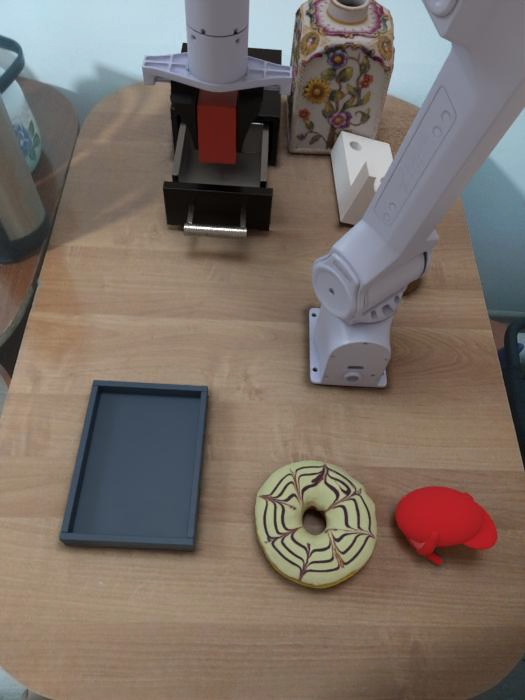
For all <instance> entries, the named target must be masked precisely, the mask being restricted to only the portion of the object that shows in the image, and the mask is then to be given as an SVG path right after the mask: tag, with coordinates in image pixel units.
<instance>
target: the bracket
mask: <svg viewBox="0 0 525 700" xmlns="http://www.w3.org/2000/svg"><path fill="white" fill-rule="evenodd" d="M330 159H331V165H332V173H333V179H334V185H335V186H334V187H335V193H336V198H337V206H338V213H339V221H340V223H345V224H348V225H353V226H355V225H356V224H357V223H358V222H359V221H360V220H361V219H362V218H363V216H364V214H365V212H366V210H367V208H368V207H369V205H370V203H371V201H372V199H373V197H374V195H375V193H376V191H377V189H378V188H379V186H380V184H381V182H382V180H383V178H384V176H385V174H386V172H387V171H388V169H389V167H390V165H391V163H392V161H393V159H394V157H393V154H392V150H391V144H390V143H388V142H384V141H381V140H376V139H375V140H373V139H370V138H366V137H362V136H359V135H355V134H352V133H348V132H344V131H341V133H340V135H339V137H338V139H337V141H336V142H335V144H334V146H333V148H332V150H331V155H330Z"/></svg>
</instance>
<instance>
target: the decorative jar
mask: <svg viewBox="0 0 525 700" xmlns="http://www.w3.org/2000/svg"><path fill="white" fill-rule="evenodd" d="M294 17H295V18H294V25H293V34H292V44H291V51H290V53H291V54H290V61H289V66H292V83H291V92H290V95H286V127H287V148H288V151H289V153H291V154H306V155H307V154H308V155H309V154H311V155H312V154H314V155H330V156H331V150H332V148H333V146H334V144H335V142H336V141H337V139H338V137H339V135H340V133H341V131H344V132H348V133H352V134H355V135H359V136H362V137H366V138H370V139H373V140H376V138H377V134H378V131H379V126H380V124H381V120H382V115H383V111H384V107H385V103H386V99H387V96H388V91H389V88H390V83H391V79H392V75H393V72H394V68H395V53H396V47H395V46H394V40H395V23H394V19H393V16H392V14H391V11H390V10H389V9H388V8H386V7H385V6H384V5H382V4H380V3H379V2H378V1H377V0H306V1H305V2H303V3H301V4H300V5H299V7H298V8H297V9H296V12H295V14H294Z"/></svg>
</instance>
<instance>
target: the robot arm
mask: <svg viewBox="0 0 525 700" xmlns="http://www.w3.org/2000/svg"><path fill="white" fill-rule="evenodd" d="M421 2H422V3H423V6H424V8H425V10H426V11H427V14H428V16H429V18H430V20H431V21H432V23H433V25H434V27H435V30H436V31H437V34H438V35H439V37H440V38H442V39H444V40H446V41H448V42H449V43H451V47H450V51H449V53H448V55H447V56H446V59H445V61H444V63H443V65H442V66H441V68H440V70H439V72H438V74H437V76H436V78H435V80H434V82H433V83H432V86H431V87H430V88H429V91H428V93H427V94H426V96H425V99H424V101H423V102H422V104H421V106H420V108H419V110H418V111H417V114H416V115H415V118H414V119H413V121H412V123H411V125H410V127H409V129H408V131H407V133H406V135H405V136H404V139H403V140H402V143H401V144H400V146H399V148H398V150H397V152H396V153H395V155H394V157H393V161H392V163H391V165H390V167H389V169H388V171H387V172H386V174H385V176H384V178H383V180H382V182H381V184H380V186H379V188H378V189H377V191H376V193H375V195H374V197H373V199H372V201H371V203H370V205H369V207H368V208H367V210H366V212H365V214H364V216H363V218H362V219H361V220H360V221H359V222H358V223H357V224H356V225H353V227H351V228H350V229H349V230H348V231H347V232H346V233H345V234H343V235H342V236H341V237H340V238H338V240H337V241H336V242H335V243H334V244H333V245H332V246H331V248H330V250H329V252H328V253H327V254H324V255H321V256H319V257H318V258H316V259H315V260H314V261H313V264H312V266H311V284H312V289H313V291H314V294H315V296H316V299H317V300H318V301H319V303H320V307H311V308H310V309H309V312H308V330H309V331H308V332H309V333H308V334H309V336H308V338H309V340H308V341H309V381H310V382H311V383H312V384H314V385H328V386H330V385H331V386H346V387H348V386H349V387H364V388H365V387H366V388H382V389H383V388H385V387H386V386H387V383H388V381H387V380H388V379H387V369H386V368H387V366H388V364H389V362H390V360H391V356H392V348H391V347H392V346H391V327H392V323H393V320H394V317H395V315H396V312H397V311H398V308H399V305H400V303H401V301H402V298H403V296H404V295H403V292H404V291H405V290H406V288H407V286H408V284H409V283H411V282H412V281H414V280H417V279H419V278H421V279H422V278H423V277H424V276H426V274H427V273H428V272H429V270H430V267H431V264H432V255H433V250H434V248H435V246H436V245H437V244H438V242H439V241H440V235H439V234H438V232H437V230H436V228H437V227H438V225H439V224H440V223H441V221H442V220H443V219H444V217H445V216H446V215H447V213H448V212H449V210H450V209H451V208H452V206H453V205H454V204H455V202H456V201H457V199H459V197H460V195H461V194H462V193H463V192H464V190H465V189H466V187H467V186H468V185H469V183H470V182H471V181H472V179H473V178H474V177H475V175H476V174H477V173H478V171H479V170H480V168H482V166H483V164H484V163H485V162H486V160H487V159H488V158H489V156H491V154H492V152H493V151H494V150H495V148H496V147H497V146H498V144H499V143H500V142H501V140H502V139H503V138H504V136H505V135H506V133H507V132H508V131H509V130H510V128H511V127H512V125H513V124H514V123H515V121H516V120H517V119H518V117H519V116H520V114H521V113H522V112H523V111H524V109H525V0H421ZM184 13H185V14H184V15H185V32H186V43H187V49H188V52H184V53H181V52H177V53H169V54H161V55H147V54H145V55H144V57H143V61H142V65H141V71H142V79H143V85H144V86H151V87H152V86H155V85H156V83H165V84H166V83H167V84H170V94H169V100H170V105H171V104H172V106H173V108H174V109H175V110H176V111H177V112H178V114H179V115H180V117H181V118H182V120H183V122H184V123H185V125H186V127H187V129H188V132H189V134H190V137H191V140H192V143H193V147H194V149H195V150H199V142H198V122H197V100H198V94H199V89H203V90H206V91H211V92H229V91H236V90H239V97H238V127H237V138H236V152H237V153H241V152H242V148H243V144H244V140H245V137H246V135H247V132H248V130H249V128H250V126H251V124H252V123H253V121H254V119H255V118H256V117H257V115H258V114H259V113H260V110H261V108H262V105H263V92H264V90H276V91H279V93H280V94H281V96H287V95H290V92H291V83H292V66H290V65H284V64H282V65H279V64H275V63H271V62H268V61H264V60H261V59H257V58H254V57H250V56H248V47H249V29H250V0H184ZM314 370H316V371H314Z"/></svg>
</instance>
